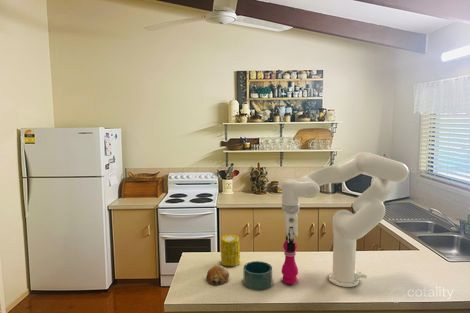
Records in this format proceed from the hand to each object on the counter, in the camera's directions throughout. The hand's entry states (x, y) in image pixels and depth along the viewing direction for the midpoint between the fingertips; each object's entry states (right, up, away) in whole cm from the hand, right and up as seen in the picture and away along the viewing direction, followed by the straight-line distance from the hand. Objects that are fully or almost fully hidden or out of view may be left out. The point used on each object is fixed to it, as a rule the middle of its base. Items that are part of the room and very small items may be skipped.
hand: (290, 247), depth 140 cm
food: (-26, -14, +20) cm, 36 cm away
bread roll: (-32, -16, +3) cm, 36 cm away
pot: (-14, -16, +1) cm, 21 cm away
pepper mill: (0, -15, +2) cm, 15 cm away
